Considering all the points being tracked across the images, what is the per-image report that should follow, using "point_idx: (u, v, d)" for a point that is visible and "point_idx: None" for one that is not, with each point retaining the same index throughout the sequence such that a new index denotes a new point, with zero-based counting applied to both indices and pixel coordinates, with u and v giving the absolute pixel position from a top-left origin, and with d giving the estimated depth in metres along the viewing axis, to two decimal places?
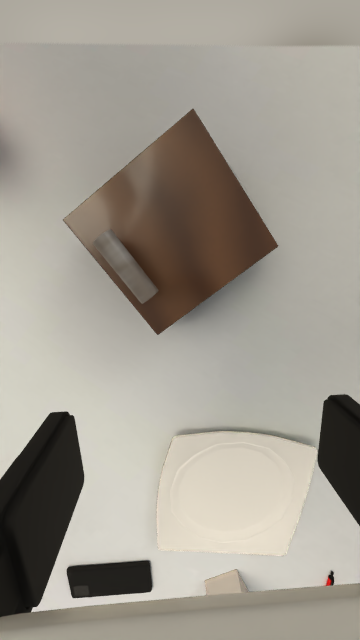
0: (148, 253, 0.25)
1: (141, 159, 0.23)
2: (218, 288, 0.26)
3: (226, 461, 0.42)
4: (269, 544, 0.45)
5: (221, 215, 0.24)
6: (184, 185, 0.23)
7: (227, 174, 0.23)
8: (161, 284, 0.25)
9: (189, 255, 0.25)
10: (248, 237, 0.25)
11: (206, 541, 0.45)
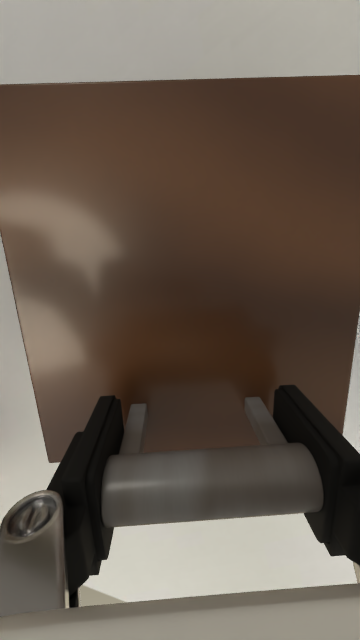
0: (194, 369, 0.11)
1: (19, 271, 0.10)
2: None
3: None
4: None
5: (226, 174, 0.09)
6: (117, 216, 0.09)
7: (153, 97, 0.09)
8: (264, 382, 0.11)
9: (254, 298, 0.10)
10: (316, 141, 0.09)
11: None
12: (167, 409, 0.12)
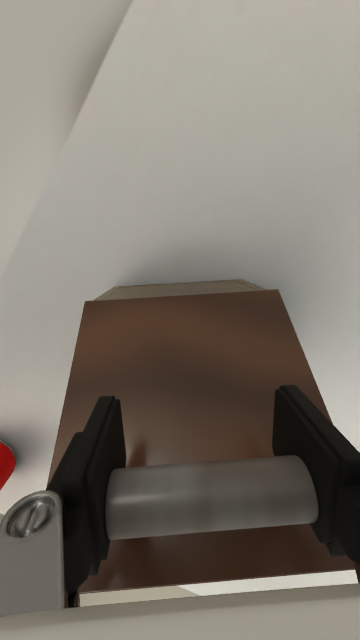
0: (197, 455, 0.12)
1: (76, 377, 0.15)
2: (311, 378, 0.15)
3: None
4: None
5: (206, 326, 0.17)
6: (144, 346, 0.16)
7: (167, 301, 0.18)
8: None
9: (237, 391, 0.14)
10: (251, 311, 0.18)
11: None
12: None
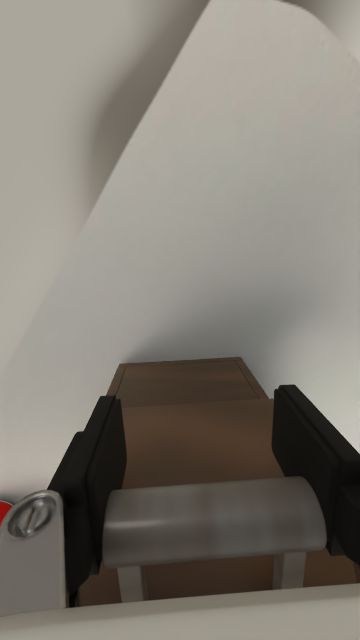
0: None
1: None
2: None
3: None
4: None
5: (209, 426, 0.18)
6: (149, 443, 0.16)
7: (172, 408, 0.20)
8: None
9: None
10: (250, 414, 0.19)
11: None
12: None
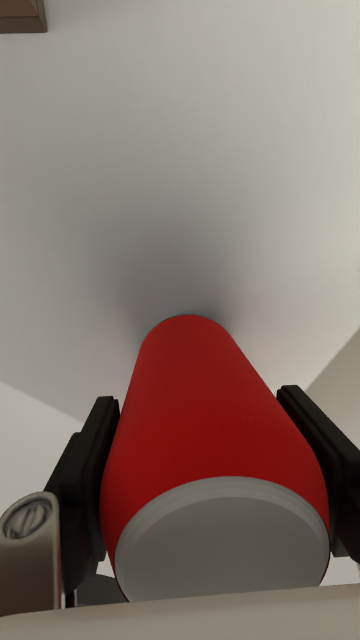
0: None
1: None
2: None
3: None
4: None
5: None
6: None
7: None
8: None
9: None
10: None
11: None
12: None
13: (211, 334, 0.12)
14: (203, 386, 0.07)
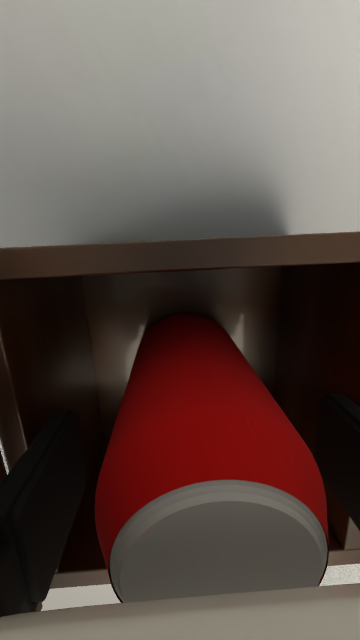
0: None
1: None
2: None
3: None
4: None
5: None
6: None
7: None
8: None
9: None
10: None
11: None
12: None
13: (210, 333, 0.12)
14: (200, 387, 0.07)
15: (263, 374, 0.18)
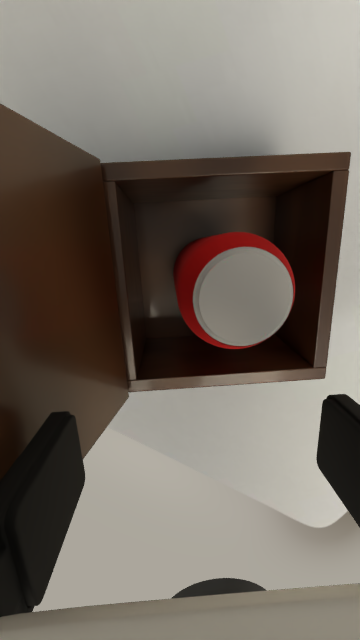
0: None
1: None
2: None
3: None
4: None
5: None
6: None
7: None
8: None
9: None
10: None
11: None
12: None
13: None
14: (230, 232, 0.14)
15: None
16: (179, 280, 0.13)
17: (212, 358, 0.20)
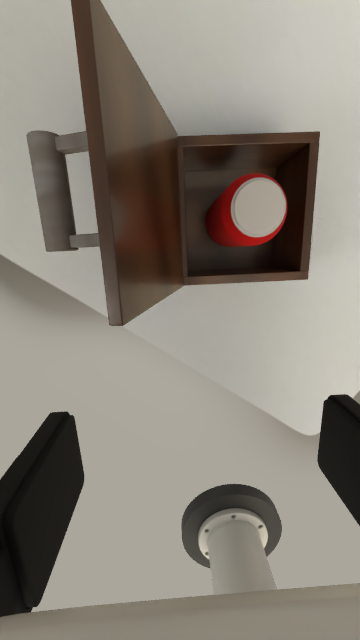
0: None
1: None
2: None
3: None
4: None
5: None
6: None
7: None
8: None
9: None
10: None
11: None
12: None
13: None
14: None
15: None
16: (221, 201, 0.23)
17: (233, 272, 0.30)
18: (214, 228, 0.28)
